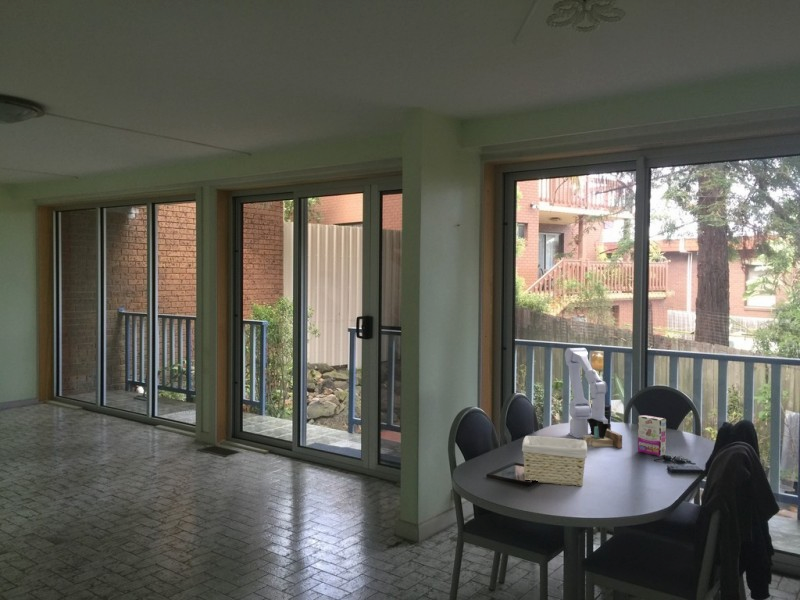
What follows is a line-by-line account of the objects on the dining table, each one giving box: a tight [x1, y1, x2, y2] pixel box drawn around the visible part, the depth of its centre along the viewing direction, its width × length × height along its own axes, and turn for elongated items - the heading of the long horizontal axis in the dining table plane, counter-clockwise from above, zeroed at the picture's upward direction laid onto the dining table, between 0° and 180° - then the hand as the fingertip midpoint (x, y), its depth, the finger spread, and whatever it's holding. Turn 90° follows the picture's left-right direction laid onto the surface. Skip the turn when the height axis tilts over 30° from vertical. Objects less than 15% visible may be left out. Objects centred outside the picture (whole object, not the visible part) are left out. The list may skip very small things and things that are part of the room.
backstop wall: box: [605, 429, 623, 449], centre depth 300 cm, size 18×2×6 cm, turn 11°
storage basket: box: [521, 435, 588, 487], centre depth 243 cm, size 24×16×15 cm
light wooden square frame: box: [582, 434, 614, 448], centre depth 299 cm, size 10×10×3 cm
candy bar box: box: [637, 414, 667, 458], centre depth 282 cm, size 11×5×16 cm, turn 37°
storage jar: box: [590, 403, 612, 435], centre depth 319 cm, size 10×10×15 cm
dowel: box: [594, 427, 601, 439], centre depth 299 cm, size 3×3×8 cm
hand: (597, 435), depth 299 cm, fingers open, 7 cm apart
